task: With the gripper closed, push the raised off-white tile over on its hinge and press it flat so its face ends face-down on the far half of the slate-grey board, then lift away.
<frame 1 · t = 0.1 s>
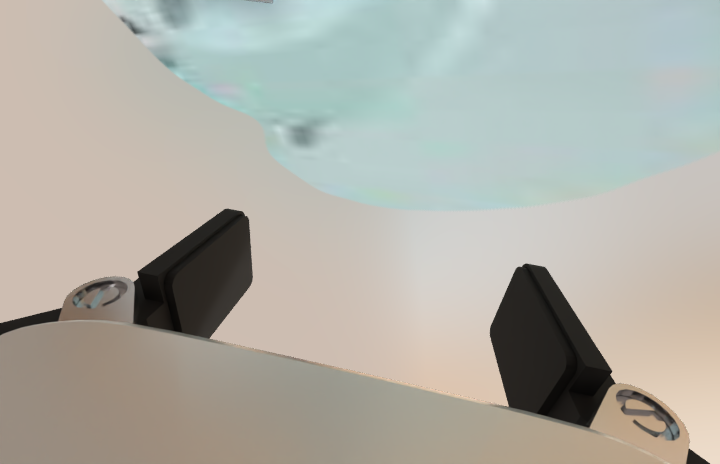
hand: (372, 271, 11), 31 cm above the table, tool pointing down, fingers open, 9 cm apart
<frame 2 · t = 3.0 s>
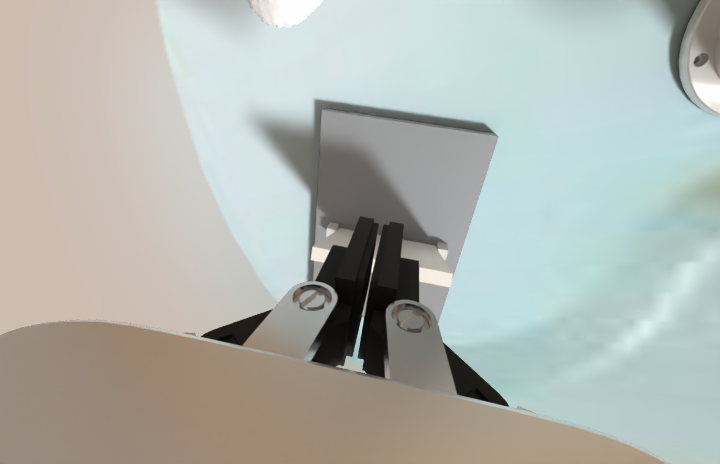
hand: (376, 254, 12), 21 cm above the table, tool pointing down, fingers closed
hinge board: (388, 231, 35), on the table
tile: (383, 251, 27), point 8 cm above the table, hinge at 70.0°
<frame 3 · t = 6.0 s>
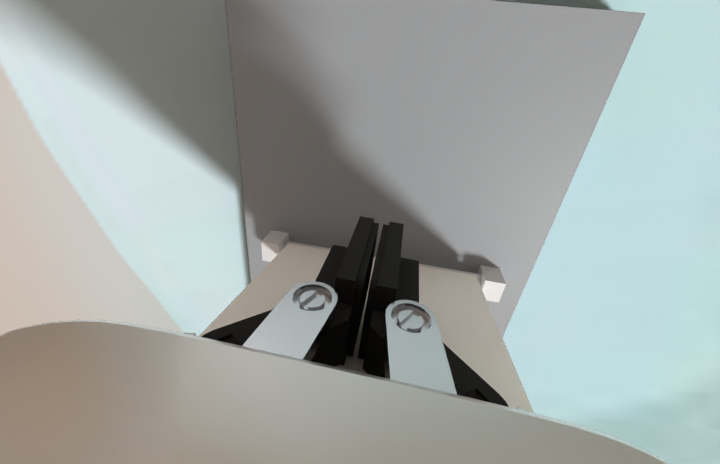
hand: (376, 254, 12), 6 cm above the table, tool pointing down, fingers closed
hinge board: (382, 244, 19), on the table
tile: (363, 334, 11), point 8 cm above the table, hinge at 82.8°, touching gripper
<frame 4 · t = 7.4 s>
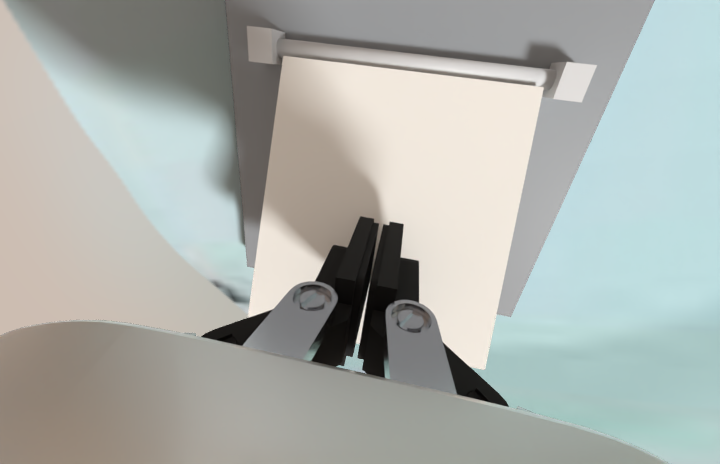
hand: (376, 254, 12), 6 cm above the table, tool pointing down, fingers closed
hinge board: (410, 64, 14), on the table
tile: (384, 212, 13), point 4 cm above the table, hinge at 156.5°, touching gripper
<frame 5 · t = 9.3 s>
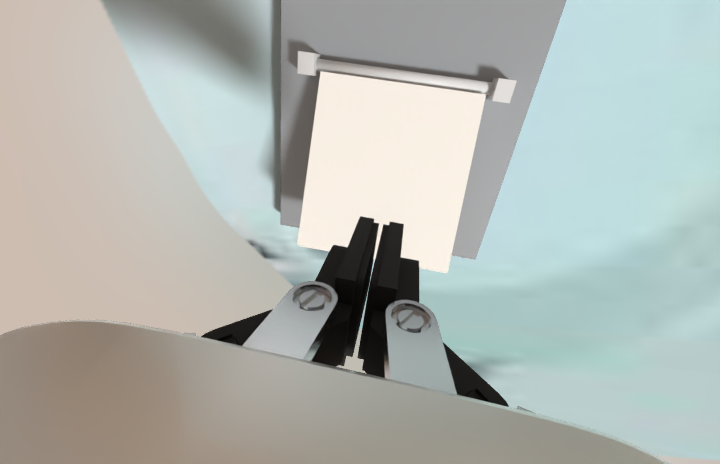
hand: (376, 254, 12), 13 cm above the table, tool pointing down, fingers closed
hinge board: (403, 76, 21), on the table
tile: (385, 175, 20), point 4 cm above the table, hinge at 161.3°
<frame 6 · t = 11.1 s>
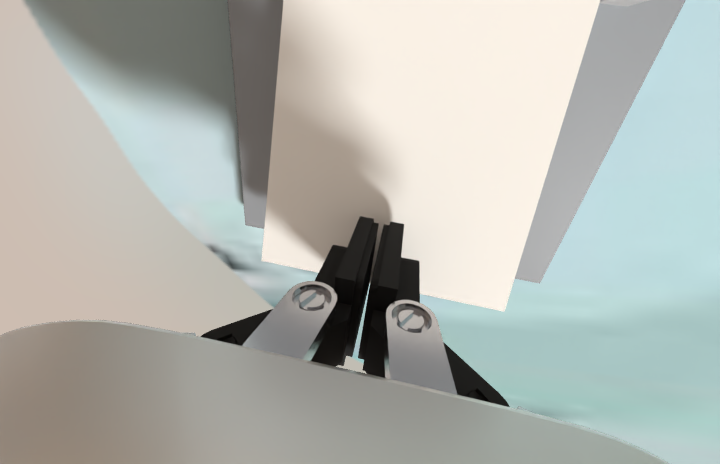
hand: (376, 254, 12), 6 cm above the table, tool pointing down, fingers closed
tile: (404, 146, 12), point 4 cm above the table, hinge at 164.8°, touching gripper
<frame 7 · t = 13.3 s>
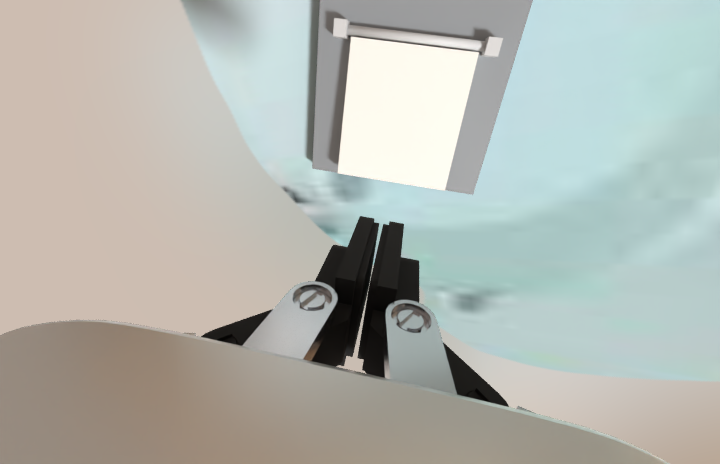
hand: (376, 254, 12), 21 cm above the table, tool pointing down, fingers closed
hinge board: (415, 40, 26), on the table
tile: (401, 118, 27), point 3 cm above the table, hinge at 175.7°
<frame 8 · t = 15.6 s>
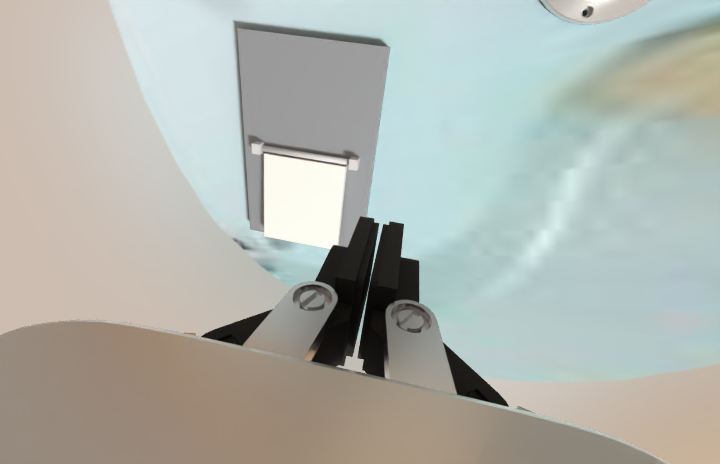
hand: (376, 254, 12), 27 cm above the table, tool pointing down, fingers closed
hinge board: (311, 151, 38), on the table
tile: (303, 202, 39), point 3 cm above the table, hinge at 175.7°
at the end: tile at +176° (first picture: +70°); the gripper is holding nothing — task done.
